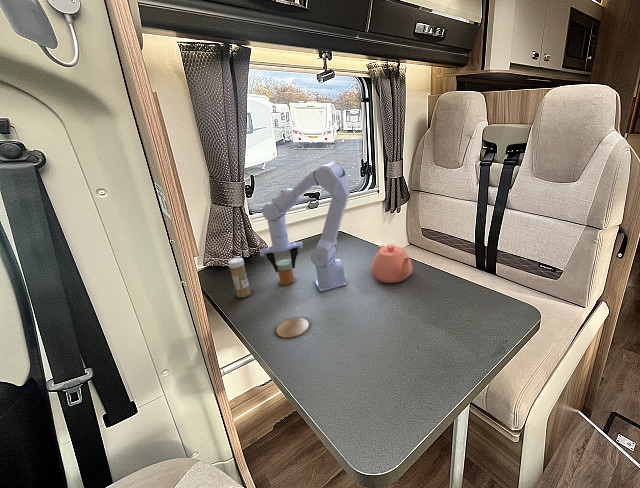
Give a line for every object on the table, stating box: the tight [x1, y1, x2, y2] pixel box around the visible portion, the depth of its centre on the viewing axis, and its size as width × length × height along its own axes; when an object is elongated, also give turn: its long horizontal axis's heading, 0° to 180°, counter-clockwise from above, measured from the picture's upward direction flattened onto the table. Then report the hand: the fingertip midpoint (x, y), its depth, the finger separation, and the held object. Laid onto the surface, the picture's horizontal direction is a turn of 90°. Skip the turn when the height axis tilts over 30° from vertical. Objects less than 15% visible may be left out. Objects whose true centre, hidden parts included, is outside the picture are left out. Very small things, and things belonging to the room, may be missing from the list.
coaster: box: [276, 317, 310, 339], centre depth 92 cm, size 9×9×1 cm
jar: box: [277, 267, 296, 286], centre depth 117 cm, size 5×5×8 cm
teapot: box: [370, 244, 413, 284], centre depth 118 cm, size 22×16×12 cm
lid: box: [276, 258, 293, 270], centre depth 116 cm, size 6×6×2 cm
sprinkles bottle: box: [227, 257, 252, 299], centre depth 108 cm, size 5×5×13 cm
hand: (285, 269), depth 117 cm, fingers closed on lid, 5 cm apart
